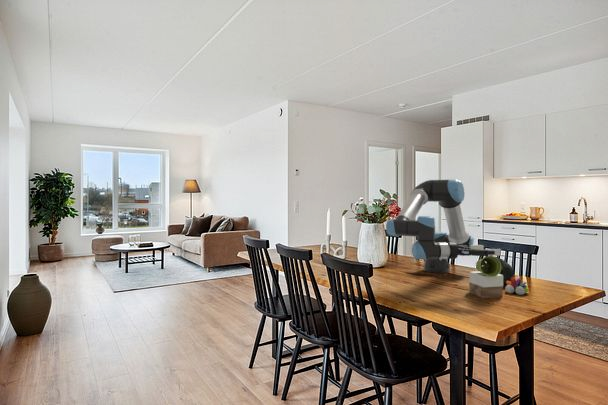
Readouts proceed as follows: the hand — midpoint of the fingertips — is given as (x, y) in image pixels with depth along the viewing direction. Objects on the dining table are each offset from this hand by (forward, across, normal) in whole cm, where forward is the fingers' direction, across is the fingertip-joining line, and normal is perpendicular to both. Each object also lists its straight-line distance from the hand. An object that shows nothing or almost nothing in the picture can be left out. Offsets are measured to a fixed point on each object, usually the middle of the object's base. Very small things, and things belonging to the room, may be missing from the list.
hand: (491, 250), depth 175 cm
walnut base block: (-3, 0, -21) cm, 21 cm away
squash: (+16, -21, -21) cm, 34 cm away
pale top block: (-2, 0, -16) cm, 16 cm away
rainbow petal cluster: (+14, -2, -21) cm, 25 cm away
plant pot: (-3, -3, -8) cm, 9 cm away
